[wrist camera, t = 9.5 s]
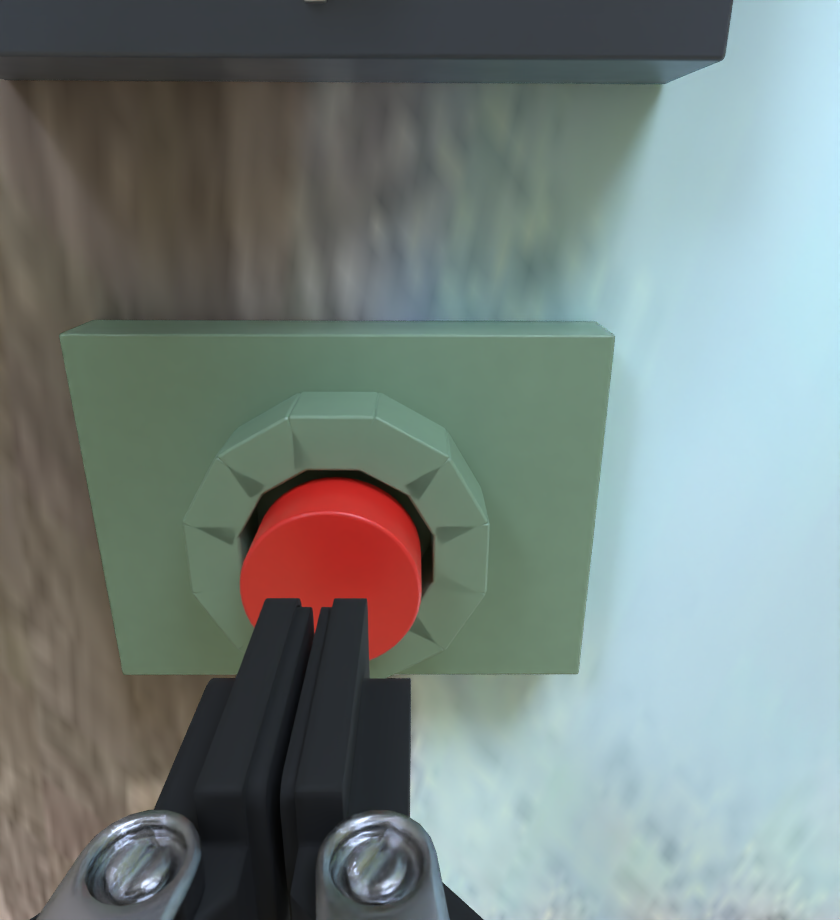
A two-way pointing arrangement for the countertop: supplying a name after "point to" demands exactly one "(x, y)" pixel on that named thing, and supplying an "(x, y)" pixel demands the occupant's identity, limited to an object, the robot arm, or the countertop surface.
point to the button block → (345, 474)
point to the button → (338, 556)
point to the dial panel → (362, 40)
